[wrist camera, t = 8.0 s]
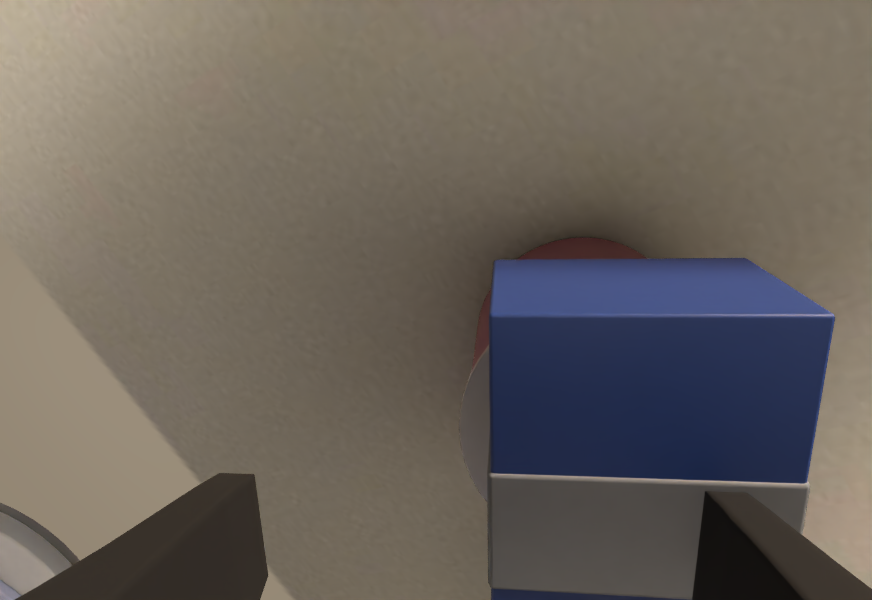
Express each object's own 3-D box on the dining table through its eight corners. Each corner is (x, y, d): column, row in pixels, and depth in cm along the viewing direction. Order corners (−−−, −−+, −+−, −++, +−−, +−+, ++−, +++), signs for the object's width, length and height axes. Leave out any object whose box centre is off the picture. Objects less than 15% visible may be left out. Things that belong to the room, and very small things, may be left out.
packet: (708, 583, 14) (770, 730, 11) (493, 572, 15) (489, 709, 12) (748, 256, 12) (843, 315, 9) (491, 258, 13) (484, 314, 9)
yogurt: (573, 465, 21) (598, 603, 15) (430, 334, 20) (399, 428, 14) (734, 336, 19) (835, 438, 13) (583, 185, 18) (620, 223, 12)
